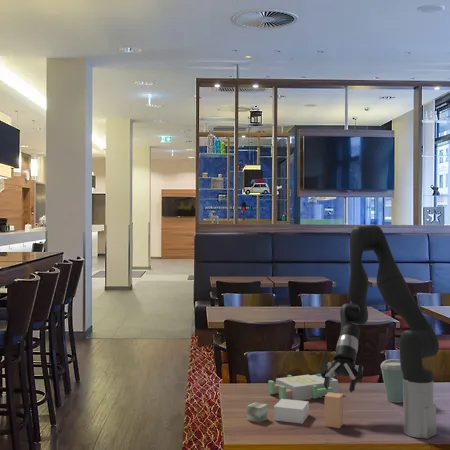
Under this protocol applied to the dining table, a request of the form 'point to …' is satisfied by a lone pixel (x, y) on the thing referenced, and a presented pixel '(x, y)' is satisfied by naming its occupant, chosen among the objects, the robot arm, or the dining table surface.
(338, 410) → the terracotta block
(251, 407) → the sage cube
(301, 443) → the dining table surface
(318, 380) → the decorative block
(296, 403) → the grey base block
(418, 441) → the dining table surface
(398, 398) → the disposable coffee cup
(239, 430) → the dining table surface
